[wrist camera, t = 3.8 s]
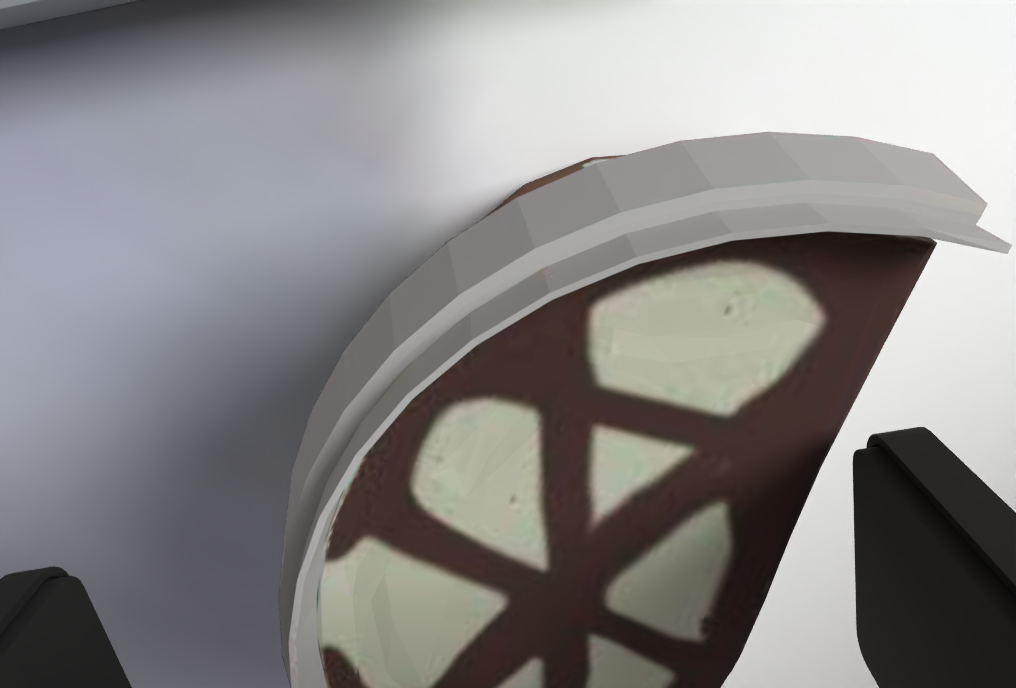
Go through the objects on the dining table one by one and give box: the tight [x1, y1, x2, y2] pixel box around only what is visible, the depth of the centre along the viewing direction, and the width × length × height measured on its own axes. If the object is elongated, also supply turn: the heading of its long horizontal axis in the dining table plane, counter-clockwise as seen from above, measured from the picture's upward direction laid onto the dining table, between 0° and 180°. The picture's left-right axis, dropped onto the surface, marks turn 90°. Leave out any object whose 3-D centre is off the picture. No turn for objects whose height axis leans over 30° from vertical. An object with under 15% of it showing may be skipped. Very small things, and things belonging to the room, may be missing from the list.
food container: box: [279, 132, 1012, 688], centre depth 14 cm, size 12×6×10 cm, turn 163°
